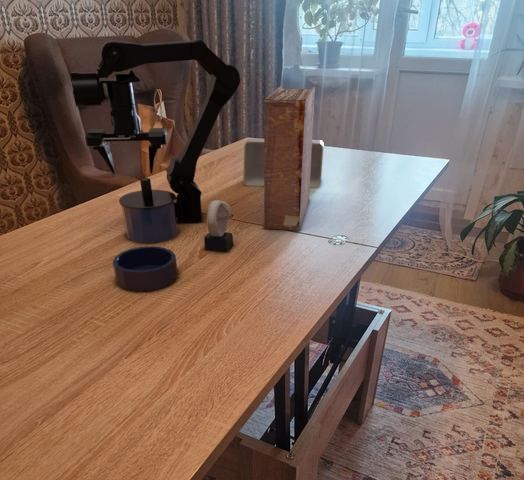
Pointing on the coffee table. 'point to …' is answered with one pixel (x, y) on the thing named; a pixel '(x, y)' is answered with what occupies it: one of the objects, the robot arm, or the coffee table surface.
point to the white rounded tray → (255, 162)
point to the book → (287, 156)
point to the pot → (150, 224)
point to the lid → (147, 197)
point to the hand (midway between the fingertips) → (133, 173)
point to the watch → (218, 227)
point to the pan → (145, 268)
